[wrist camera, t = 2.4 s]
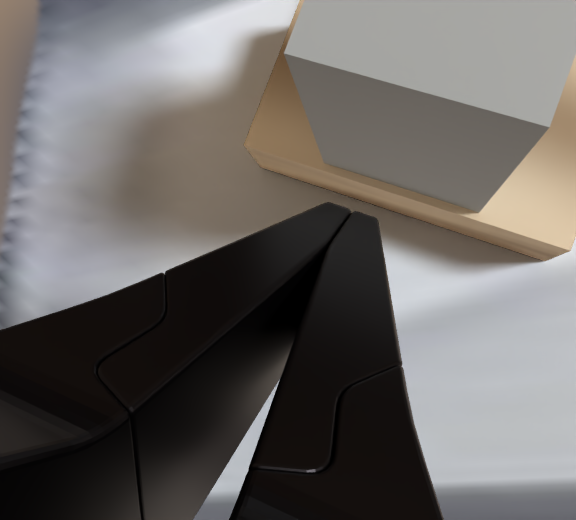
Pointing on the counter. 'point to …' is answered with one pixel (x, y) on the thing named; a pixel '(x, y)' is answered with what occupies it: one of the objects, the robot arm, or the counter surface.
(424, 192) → the gray block
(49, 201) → the counter surface
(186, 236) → the counter surface
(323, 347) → the robot arm
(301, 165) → the trap box
